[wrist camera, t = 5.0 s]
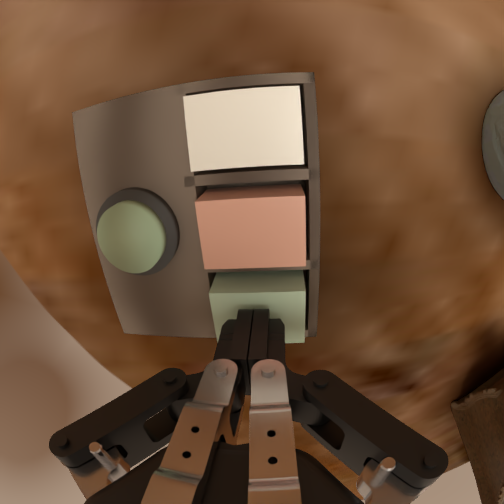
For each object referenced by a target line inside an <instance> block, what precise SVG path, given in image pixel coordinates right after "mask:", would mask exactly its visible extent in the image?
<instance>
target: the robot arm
mask: <svg viewBox="0 0 504 504" xmlns="http://www.w3.org/2000/svg"><path fill="white" fill-rule="evenodd" d="M245 395H251V407H250V420H249V443H248V444H242V445H236V442H237V437H238V432H239V428H240V424H241V419H242V415H243V410H244V405H243V404H244V399H245ZM164 408H165V409H164ZM161 410H162V411H161ZM158 412H159V413H158ZM155 414H156V415H155ZM153 415H154V416H153ZM152 416H153V417H152ZM150 417H151V418H150ZM149 418H150V419H149ZM147 419H148V420H147ZM292 421H295V422H300V423H301V425H302V427H303V428H304V429H305V430H306V431H307V432H308V433H310V434H311V435H312V436H313V437H314V438H315V439H316V440H317V441H319V442H320V443H321V444H322V445H323V446H324V447H325V448H326V449H328V450H329V451H330V452H331V453H332V454H333V455H335V456H336V457H337V458H338V459H339V460H341V461H342V462H343V463H344V464H345V465H347V466H348V467H349V468H350V469H351V470H353V471H354V472H355V473H356V474H358V475H359V477H358V480H357V490H358V491H359V493H360V494H361V495H362V496H363V498H364V500H365V504H410V503H411V502H412V501H414V500H415V499H416V498H417V497H418V496H419V495H420V494H422V493H423V492H424V491H425V490H426V489H427V488H428V487H429V486H430V485H431V484H432V483H434V482H435V481H436V480H437V479H438V478H439V477H440V476H441V475H442V474H443V473H444V471H445V470H446V468H447V466H448V456H447V454H446V452H445V451H444V450H443V449H442V448H440V447H439V446H437V445H436V444H434V443H433V442H431V441H429V440H428V439H426V438H425V437H423V436H422V435H420V434H419V433H417V432H416V431H414V430H413V429H411V428H410V427H408V426H407V425H405V424H404V423H402V422H401V421H399V420H398V419H396V418H395V417H393V416H392V415H391V414H389V413H388V412H386V411H385V410H383V409H382V408H380V407H379V406H378V405H376V404H375V403H373V402H372V401H370V400H369V399H368V398H366V397H365V396H363V395H362V394H360V393H359V392H358V391H356V390H355V389H354V388H352V387H351V386H349V385H348V384H347V383H345V382H344V381H342V380H341V379H340V378H338V377H337V376H336V375H334V374H333V373H331V372H329V371H326V370H316V371H312V372H310V373H308V374H307V375H306V376H304V375H299V374H296V373H294V372H292V371H291V370H289V369H288V368H287V366H286V363H285V325H284V323H283V322H282V320H281V319H280V318H277V319H270V310H269V309H238V313H237V318H236V319H228V320H227V321H226V322H225V323H224V324H223V325H222V328H221V332H220V336H219V340H218V344H217V348H216V352H215V356H214V359H213V361H212V362H210V363H209V364H208V365H207V366H206V368H205V370H204V371H203V372H200V373H197V374H191V375H186V374H185V373H184V372H183V371H182V370H180V369H178V368H168V369H165V370H162V371H161V372H159V373H157V374H156V375H154V376H153V377H151V378H149V379H148V380H146V381H144V382H143V383H141V384H139V385H138V386H136V387H134V388H133V389H131V390H129V391H128V392H126V393H124V394H123V395H121V396H119V397H118V398H116V399H114V400H112V401H111V402H109V403H107V404H106V405H104V406H102V407H101V408H99V409H97V410H95V411H93V412H92V413H90V414H88V415H86V416H85V417H83V418H81V419H79V420H77V421H76V422H74V423H72V424H70V425H68V426H66V427H64V428H63V429H61V430H59V431H57V432H56V433H55V434H53V435H52V437H51V439H50V441H49V448H50V450H51V452H52V453H53V454H54V455H55V456H56V457H57V458H58V459H59V460H60V461H61V463H62V464H63V465H64V466H65V467H66V468H67V469H69V471H70V473H71V474H72V476H73V478H74V480H75V481H76V483H77V485H78V487H79V488H80V490H81V492H82V493H83V495H84V497H85V498H86V502H85V503H84V504H364V503H363V502H362V501H361V500H360V499H359V498H357V497H356V496H355V495H354V494H353V493H352V492H351V491H350V490H348V489H347V488H346V487H345V486H344V485H343V484H342V483H341V482H340V481H339V480H338V479H336V478H335V477H334V476H333V475H332V474H331V473H330V472H329V471H328V470H327V469H326V468H325V467H324V466H323V465H322V464H321V463H320V462H319V461H318V460H316V459H315V458H314V457H313V456H311V455H310V454H308V453H306V452H304V451H301V450H299V449H295V441H294V432H293V423H292ZM167 443H169V445H168V446H167V447H165V448H163V449H161V450H160V451H158V452H157V453H156V454H154V455H153V456H151V457H150V458H148V459H147V460H145V461H144V462H143V463H141V464H140V465H139V466H137V467H135V468H134V469H132V470H131V471H130V468H131V467H132V466H134V465H136V464H137V463H139V462H140V461H142V460H143V459H145V458H146V457H148V456H150V455H151V454H153V453H154V452H156V451H157V450H159V449H160V448H162V447H163V446H165V445H166V444H167Z"/></svg>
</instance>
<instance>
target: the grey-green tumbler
mask: <svg viewBox="0 0 504 504" xmlns="http://www.w3.org/2000/svg"><path fill="white" fill-rule="evenodd" d="M482 151H483V159H484V164H485V168H486V171H487V174H488V177H489V179H490V182H491V184H492V185H493V187H494V189H495V190H496V191H497V193H498V194H499V195H500V196H501V198H502V199H503V200H504V90H503V91H502V92H501V93H499V94H498V95H497V96H496V97H495V98H494V99H493V101H492V103H491V104H490V105H489V108H488V109H487V112H486V114H485V118H484V122H483V130H482Z"/></svg>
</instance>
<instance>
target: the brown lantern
mask: <svg viewBox="0 0 504 504" xmlns="http://www.w3.org/2000/svg"><path fill="white" fill-rule="evenodd" d="M451 409H452V412H453V415H454V418H455V420H456V423H457V426H458V429H459V432H460V435H461V438H462V440H463V443H464V445H465V448H466V451H467V454H468V457H469V460H470V463H471V466H472V469H473V473H474V476H475V479H476V483H477V487H478V491H479V495H480V499H481V502H482V504H504V368H503V369H502V370H501V371H499V372H498V373H497V374H496V375H494V376H493V377H492V378H490V379H489V380H488V381H486V382H485V383H483V384H482V385H481V386H479V387H478V388H477V389H475V390H474V391H472V392H471V393H470V394H468V395H467V396H465V397H463V398H462V399H460V400H459V401H453V402H452V403H451Z"/></svg>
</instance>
